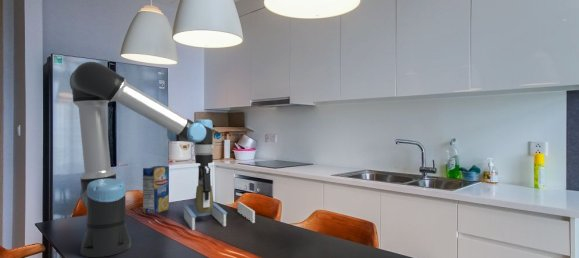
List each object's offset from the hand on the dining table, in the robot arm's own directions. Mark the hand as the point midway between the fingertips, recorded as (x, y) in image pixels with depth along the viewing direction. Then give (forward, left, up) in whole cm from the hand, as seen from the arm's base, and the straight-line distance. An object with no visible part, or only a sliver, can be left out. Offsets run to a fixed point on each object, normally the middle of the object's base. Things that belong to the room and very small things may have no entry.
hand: (204, 205), depth 152 cm
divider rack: (0, -6, -7) cm, 10 cm away
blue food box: (+31, +18, -8) cm, 36 cm away
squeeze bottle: (0, 0, -4) cm, 4 cm away
